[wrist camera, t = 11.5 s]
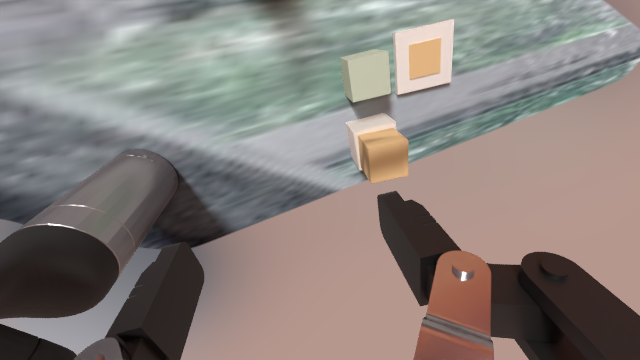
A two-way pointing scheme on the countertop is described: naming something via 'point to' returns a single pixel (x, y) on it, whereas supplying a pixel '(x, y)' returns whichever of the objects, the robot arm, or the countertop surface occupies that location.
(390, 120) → the base block
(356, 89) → the sage block
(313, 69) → the countertop surface
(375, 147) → the maple block
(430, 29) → the tile
